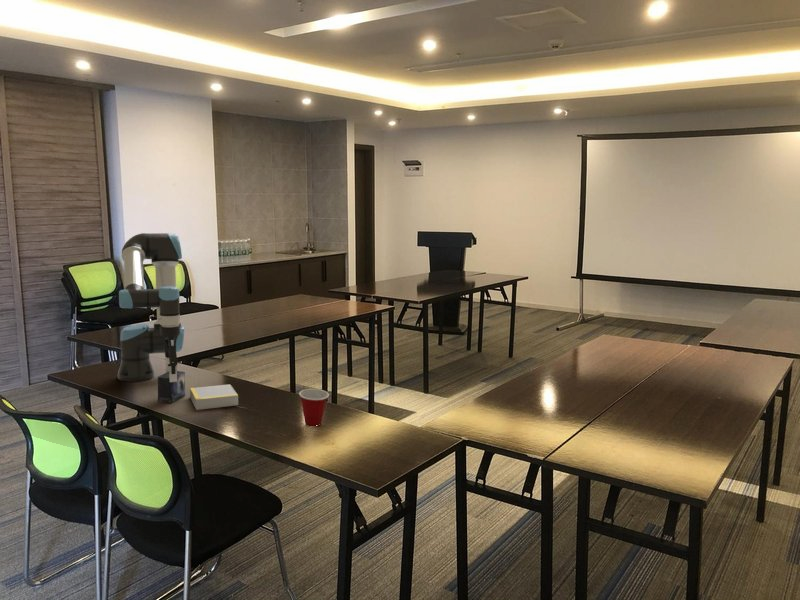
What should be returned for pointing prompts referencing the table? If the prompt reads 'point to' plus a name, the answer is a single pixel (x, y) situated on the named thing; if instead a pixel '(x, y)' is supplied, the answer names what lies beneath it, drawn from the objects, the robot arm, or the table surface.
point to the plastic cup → (313, 405)
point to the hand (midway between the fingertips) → (171, 377)
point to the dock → (213, 396)
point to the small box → (171, 387)
